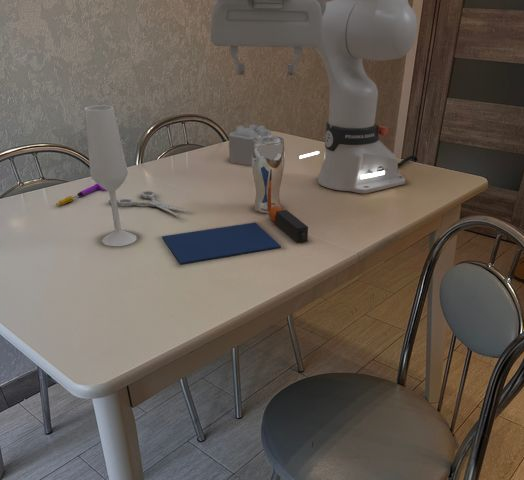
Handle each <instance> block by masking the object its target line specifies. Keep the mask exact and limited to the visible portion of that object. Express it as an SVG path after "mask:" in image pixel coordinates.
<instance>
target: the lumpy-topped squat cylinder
mask: <svg viewBox="0 0 524 480" xmlns="http://www.w3.org/2000/svg"><path fill="white" fill-rule="evenodd" d="M265 135H270V136H272V132H271V130H269V129H267V128H266V127H265V126H264V125H259V126H257V125H256V124H250V125H249V126H248V127H245V126H244V125H238V126H236V127H235V130H234V131H231V132H230V133H229V134H228V157H229V159H228V160H229V163H231V164H237V165H238V164H239V165H243V166H248V167H249V166H250V167H252V147H253V138H255V137H257V136H265Z"/></svg>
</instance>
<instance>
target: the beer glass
mask: <svg viewBox="0 0 524 480" xmlns="http://www.w3.org/2000/svg"><path fill="white" fill-rule="evenodd" d="M251 168H252V175H253V180H254V181H253V182H254V187H255V199H254V203H253V209H254V211H255V212H257V213H260V214H269V211H270V209H271V208H272V207H274V206H279V207H280V208H282V204H281V198H280V197H281V196H280V193H281V186H282V181H283V176H284V168H285V138H284V137H282V136H278V135H271V136H270V135H265V136H257V137H255V138H253V147H252V166H251Z"/></svg>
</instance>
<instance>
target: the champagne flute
mask: <svg viewBox="0 0 524 480" xmlns="http://www.w3.org/2000/svg"><path fill="white" fill-rule="evenodd" d="M84 114H85V115H84V116H85V127H86V139H87V151H88V152H87V153H88V163H89V175H90V177H91V179H92V180H93V182H95V184H98V185H100V186H101V187H102V188H104V189H105V190H104V191H108V195H109V200H110V202H111V204H110V208H111V215H112V221H113V226H114V230H113V231H112V232H110V233H108V234H107V235H105V236H104V237H103V238H102V239H101V242H102V244H104V245H105V246H109V247H123V246H127V245H131V244H134V243H135V242H136V241H137V236H136V235H135V234H133V233H131V232H128V231H125V230H124V229H122V226H121V221H120V220H121V219H120V213H119V207H118V206H119V205H118V204H117V200H118V199H117V193H116V191H117V190H118V189H119V188H120V187H121V186H122V185H123V184H124V183H125V181H126V179H127V177H128V174H129V170H128V166H127V161H126V158H125V157H126V156H125V154H124V153H125V152H124V149H123V144H122V139H121V135H120V132H119V127H118V121H117V118H116V113H115V109H114V107H113V106H112V105H101V104H99V105H91V106H87V107H85V108H84Z"/></svg>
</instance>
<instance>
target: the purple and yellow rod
mask: <svg viewBox="0 0 524 480" xmlns="http://www.w3.org/2000/svg"><path fill="white" fill-rule="evenodd" d="M96 190H98V191H100V190H101V191H103V192H104V191H106V190H105V189H104V188H102V187H101V186H100V185H98V184H97V183H95V184H93V185H92V186H90V187H88V188H85V189H83V190H81V191H78V193H77V194H76V195H74V196H71V195H69V196H67V197H65V198H63V199H61V200H59V201H58V202H57V203H56V205H57V206H63V205H65V204H67V203H70V202H71V203H72V202H73V201H74V198H77V197H83V196H85V195H88V194H89V193H92V192H93V191H96Z"/></svg>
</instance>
